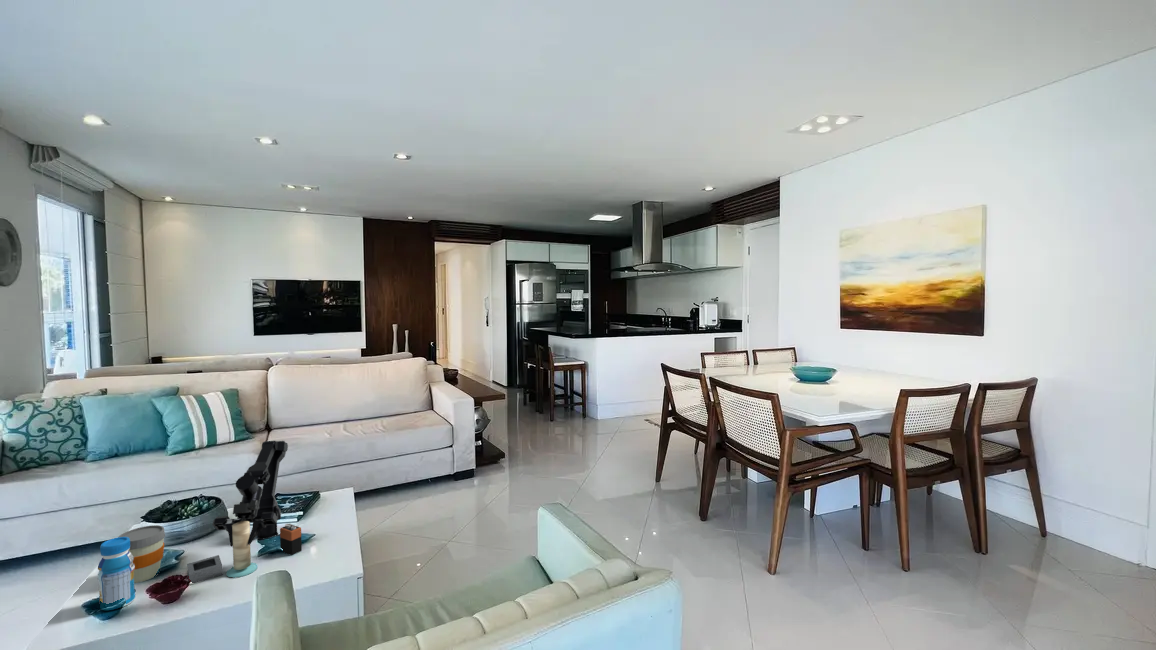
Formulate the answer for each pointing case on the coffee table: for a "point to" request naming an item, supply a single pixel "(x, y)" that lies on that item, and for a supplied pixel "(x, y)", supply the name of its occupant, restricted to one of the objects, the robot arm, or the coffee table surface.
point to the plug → (241, 545)
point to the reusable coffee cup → (146, 550)
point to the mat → (242, 571)
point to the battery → (290, 539)
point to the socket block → (204, 569)
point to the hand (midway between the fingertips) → (240, 545)
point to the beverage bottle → (116, 571)
